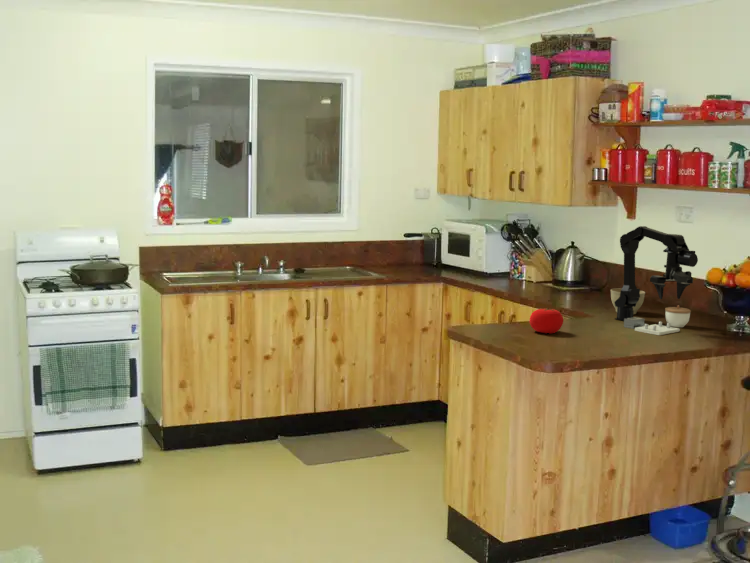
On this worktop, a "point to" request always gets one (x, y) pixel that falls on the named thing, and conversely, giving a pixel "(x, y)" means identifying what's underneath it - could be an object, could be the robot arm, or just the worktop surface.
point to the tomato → (546, 320)
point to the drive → (633, 322)
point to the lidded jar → (677, 316)
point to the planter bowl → (616, 294)
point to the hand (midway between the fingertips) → (669, 298)
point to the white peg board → (657, 329)
